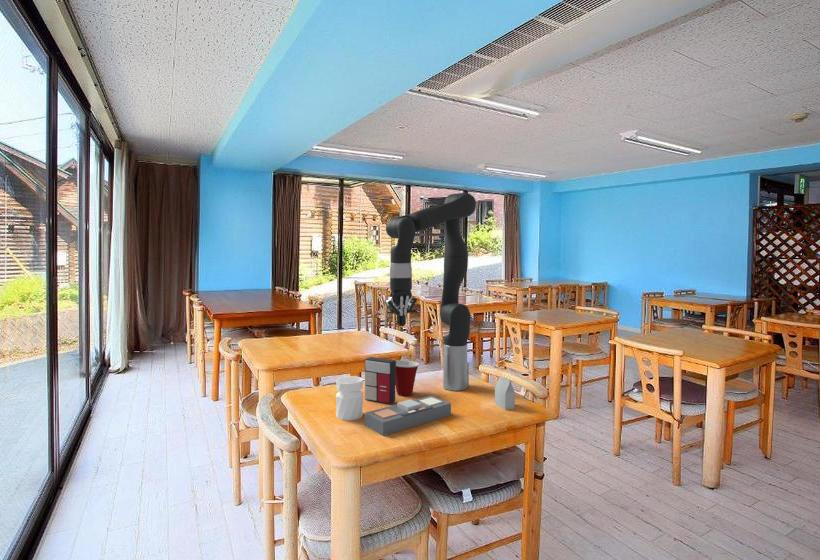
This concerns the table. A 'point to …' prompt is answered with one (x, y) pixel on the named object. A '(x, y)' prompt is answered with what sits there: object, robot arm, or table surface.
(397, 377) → the plastic cup
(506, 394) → the pale grey block
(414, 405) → the grey key
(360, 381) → the vase
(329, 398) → the table surface
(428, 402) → the cream key
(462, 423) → the table surface
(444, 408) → the keypad housing
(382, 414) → the terracotta key
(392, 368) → the red and grey box
